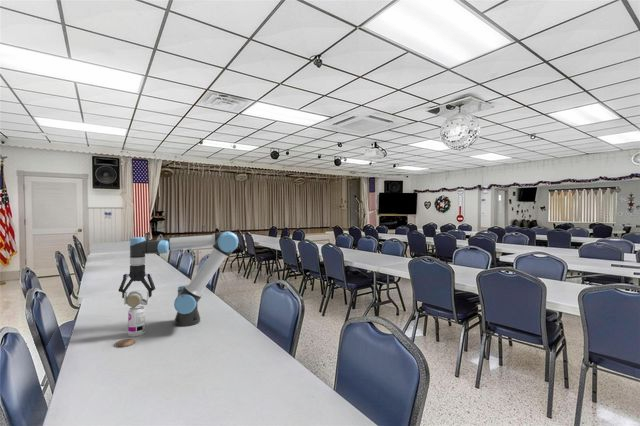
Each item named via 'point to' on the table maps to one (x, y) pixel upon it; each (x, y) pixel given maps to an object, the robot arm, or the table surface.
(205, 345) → the table surface
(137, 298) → the ceramic mug
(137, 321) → the supplement can
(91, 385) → the table surface
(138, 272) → the robot arm
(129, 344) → the walnut coaster
